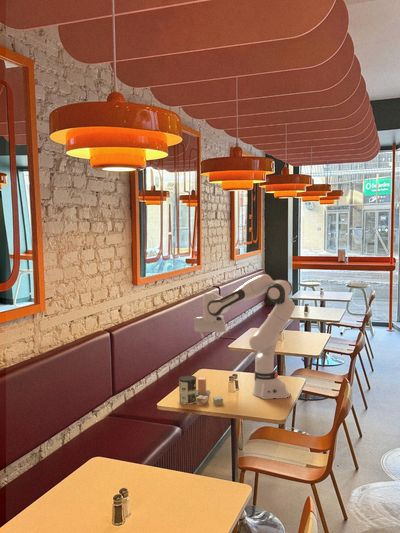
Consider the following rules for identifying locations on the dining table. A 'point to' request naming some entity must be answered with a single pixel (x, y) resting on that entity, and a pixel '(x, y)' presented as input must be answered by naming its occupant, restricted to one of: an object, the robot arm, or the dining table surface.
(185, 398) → the coffee can
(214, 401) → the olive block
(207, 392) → the pad
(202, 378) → the pillar
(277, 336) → the robot arm
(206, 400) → the mottled white pinkish lump
